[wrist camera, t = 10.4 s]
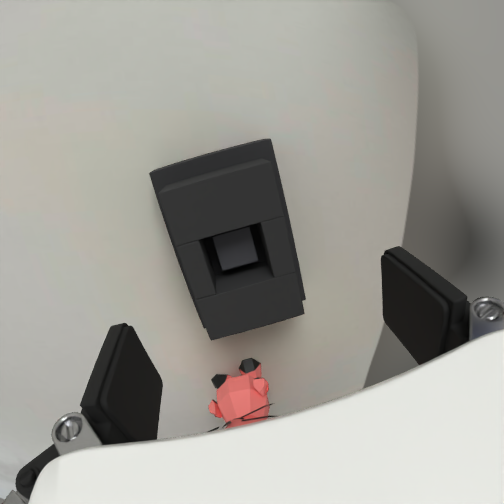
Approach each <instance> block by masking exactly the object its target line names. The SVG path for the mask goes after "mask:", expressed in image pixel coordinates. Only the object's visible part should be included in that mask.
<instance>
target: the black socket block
mask: <svg viewBox="0 0 504 504" xmlns="http://www.w3.org/2000/svg"><path fill="white" fill-rule="evenodd" d="M158 195H159V198H160V201H161V205H162V208H163V211H164V214H165V217H166V220H167V223H168V226H169V229H170V232H171V235H172V238H173V241H174V244H175V246H176V249H177V252H178V255H179V257H180V260H181V263H182V266H183V269H184V271H185V274H186V277H187V280H188V282H189V285H190V288H191V290H192V293H193V296H194V298H195V301H196V304H197V307H198V309H199V312H200V314H201V317H202V319H203V322H204V324H205V327H206V329H207V332H208V334H209V337H210V339H211V340H215V339H219V338H222V337H226V336H230V335H234V334H237V333H241V332H245V331H248V330H252V329H255V328H259V327H262V326H266V325H269V324H273V323H276V322H280V321H283V320H286V319H290V318H293V317H296V316H299V315H303V314H304V309H303V303H302V298H301V293H300V288H299V283H298V278H297V274H296V269H295V264H294V259H293V255H292V250H291V245H290V241H289V236H288V231H287V227H286V222H285V218H284V213H283V209H282V204H281V200H280V195H279V191H278V187H277V183H276V178H275V174H274V170H273V166H272V162H271V161H268V160H265V159H262V158H261V159H257V160H253V161H249V162H246V163H242V164H238V165H234V166H230V167H227V168H223V169H220V170H216V171H212V172H209V173H205V174H202V175H199V176H195V177H192V178H189V179H185V180H182V181H179V182H175V183H172V184H169V185H166V186H165V187H164V188H163V189H162V190H161V191H160V192H159V193H158ZM256 223H257V227H258V231H259V235H260V239H261V243H262V247H263V251H264V255H265V259H266V260H265V261H261V262H258V263H254V264H251V265H247V266H244V267H240V268H237V269H233V270H230V271H226V272H223V273H219V274H216V275H215V272H214V269H213V266H212V263H211V260H210V256H209V253H208V250H207V247H206V244H205V241H204V238H207V237H210V236H214V235H217V234H221V233H224V232H228V231H231V230H235V229H238V228H242V227H246V226H249V225H253V224H256Z"/></svg>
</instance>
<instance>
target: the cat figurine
mask: <svg viewBox="0 0 504 504" xmlns="http://www.w3.org/2000/svg"><path fill="white" fill-rule="evenodd" d="M239 370H240V372H241V374H242V376H238V377H234V378H233V377H231V376H229V375H217V374H216V375H215V376H214V377H213V378H212V379H211V380H212V382H213V384H214V386H215V388H217V402H216V401H215V400H212V401H211V403H210V405H209V410H210V413H212V414H214V415H215V417H219V418H221V417H223V419H224V420H225V422H226V424H225V425H224V426H226V425H228V426H227V427H226V428H225V429H227V428H231V427H236V426H241V425H245V424H250V423H254V422H258V421H262V420H266V419H267V418H268V417H275V416H268V413H269V408H270V407H269V405H272V404H269V402H268V398H267V394H266V393H267V392H268V390H269V388H268V382H267V381H266V380H265V379H264V378H261V363H259V362H258V361H256V360H254V359H252V358H250V359H246V360H243V361H242V363H241V365H240V367H239ZM274 404H275V403H274ZM224 426H223V427H224ZM218 428H219V427H217V428H215V429H213V430H210V431H208V432H211V431H214V430H216V429H218Z"/></svg>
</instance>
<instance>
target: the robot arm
mask: <svg viewBox="0 0 504 504" xmlns="http://www.w3.org/2000/svg"><path fill="white" fill-rule="evenodd" d="M381 271H382V298H383V318H384V321H385V323H386V324H387V325H388V327H389V328H390V329H391V330H392V332H393V333H394V334H395V335H396V336H397V338H398V339H399V340H400V341H401V342H402V344H403V345H404V346H405V348H406V349H407V350H408V351H409V353H410V354H411V355H412V356H413V358H414V359H415V360H416V361H417V363H418V364H419V366H417V367H415V368H412V369H410V370H408V371H406V372H404V373H402V374H399V375H397V376H394V377H392V378H390V379H387V380H385V381H383V382H380V383H377V384H375V385H372V386H370V387H367V388H365V389H362V390H359V391H357V392H354V393H351V394H348V395H345V396H343V397H340V398H337V399H334V400H331V401H328V402H325V403H322V404H319V405H316V406H312V407H309V408H306V409H303V410H299V411H296V412H292V413H289V414H285V415H282V416H278V417H274V418H270V419H266V420H262V421H258V422H254V423H250V424H245V425H241V426H236V427H231V428H227V429H222V430H216V431H211V432H206V433H200V434H194V435H187V436H181V437H173V438H166V439H158V440H157V432H158V422H159V413H160V404H161V396H162V387H163V384H162V379H161V377H160V375H159V373H158V372H157V370H156V368H155V367H154V365H153V363H152V361H151V360H150V358H149V356H148V354H147V352H146V351H145V349H144V347H143V345H142V343H141V341H140V340H139V338H138V336H137V334H136V332H135V330H134V328H133V327H132V326H128V325H127V324H126V323H122V324H118V325H114V326H111V327H110V329H109V332H108V334H107V336H106V339H105V341H104V343H103V346H102V348H101V351H100V353H99V356H98V358H97V361H96V363H95V366H94V368H93V371H92V374H91V376H90V379H89V382H88V384H87V387H86V390H85V393H84V395H83V398H82V401H81V404H80V406H81V407H82V411H81V413H78V412H72V413H68V414H66V415H64V416H62V417H61V418H60V419H59V420H58V421H57V422H56V423H55V425H54V427H53V429H52V434H51V436H52V440H53V442H54V444H53V445H52V446H50V447H49V448H48V449H46V450H45V451H44V452H42V453H41V454H40V455H38V456H37V457H36V458H35V459H33V460H32V461H31V462H29V463H28V464H27V465H25V466H24V467H23V468H22V469H21V470H20V471H19V473H18V474H17V477H16V489H17V491H16V492H15V491H14V490H12V491H11V492H10V494H9V495H8V496H7V497H6V499H5V500H4V501H3V502H2V504H504V302H502V301H501V300H499V299H497V298H494V297H480V298H477V299H476V300H474V301H473V302H472V303H469V302H468V301H467V296H466V295H465V294H464V293H463V292H461V291H460V290H459V289H457V288H456V287H455V286H454V285H452V284H451V283H450V282H448V281H447V280H446V279H444V278H443V277H442V276H440V275H439V274H438V273H436V272H435V271H434V270H432V269H431V268H430V267H428V266H427V265H425V264H424V263H422V262H421V261H420V260H419V259H417V258H416V257H414V256H413V255H412V254H410V253H409V252H407V251H406V250H404V249H403V248H402V247H400V246H398V247H394V248H391V249H388V250H386V251H385V252H384V255H382V256H381Z"/></svg>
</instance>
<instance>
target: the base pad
mask: <svg viewBox="0 0 504 504" xmlns="http://www.w3.org/2000/svg"><path fill="white" fill-rule="evenodd" d="M261 158H262V159H265V160H268V161H271V162H272V166H273V170H274V174H275V178H276V183H277V187H278V191H279V195H280V200H281V204H282V209H283V213H284V218H285V222H286V227H287V231H288V236H289V241H290V245H291V250H292V255H293V259H294V264H295V269H296V274H297V278H298V283H299V288H300V293H301V298H302V301H303V300H305V299H306V298H305V293H304V288H303V283H302V278H301V273H300V268H299V263H298V258H297V253H296V248H295V243H294V238H293V234H292V229H291V224H290V220H289V215H288V211H287V206H286V202H285V197H284V193H283V188H282V184H281V180H280V175H279V171H278V167H277V163H276V158H275V154H274V150H273V146H272V142H271V139H262V140H258V141H254V142H250V143H246V144H242V145H238V146H234V147H230V148H226V149H222V150H219V151H215V152H212V153H208V154H204V155H201V156H198V157H194V158H191V159H187V160H184V161H181V162H178V163H174V164H171V165H168V166H165V167H162V168H159V169H156V170H154V171H152V172H150V177H151V181H152V184H153V187H154V190H155V193H156V197H157V200H158V203H159V206H160V209H161V212H162V215H163V218H164V221H165V224H166V227H167V230H168V233H169V236H170V239H171V242H172V245H173V248H174V250H175V253H176V256H177V259H178V262H179V264H180V267H181V270H182V273H183V275H184V278H185V281H186V284H187V286H188V289H189V292H190V294H191V297H192V299H193V302H194V305H195V307H196V310H197V312H198V315H199V317H200V320H201V322H202V325H203V327H204V328H206V327H205V324H204V322H203V319H202V317H201V314H200V312H199V309H198V307H197V304H196V301H195V298H194V296H193V293H192V290H191V288H190V285H189V282H188V280H187V277H186V274H185V271H184V269H183V266H182V263H181V260H180V257H179V255H178V252H177V249H176V246H175V244H174V241H173V238H172V235H171V232H170V229H169V226H168V223H167V220H166V217H165V214H164V211H163V208H162V205H161V201H160V198H159V195H158V193H159V192H160V191H161V190H162V189H163V188H164V187H165V186H166V185H169V184H172V183H175V182H179V181H182V180H185V179H189V178H192V177H195V176H199V175H202V174H205V173H209V172H212V171H216V170H220V169H223V168H227V167H230V166H234V165H238V164H242V163H246V162H249V161H253V160H257V159H261ZM204 241H205V244H206V247H207V250H208V253H209V256H210V260H211V263H212V266H213V269H214V272H215V275H216V274H219V273H223V272H226V271H230V270H233V269H237V268H240V267H244V266H247V265H251V264H254V263H258V262H261V261H265V260H266V259H265V255H264V251H263V247H262V243H261V239H260V235H259V231H258V227H257V223H256V224H253V225H249V226H246V227H242V228H238V229H235V230H231V231H228V232H224V233H221V234H217V235H214V236H210V237H207V238H204Z"/></svg>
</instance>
